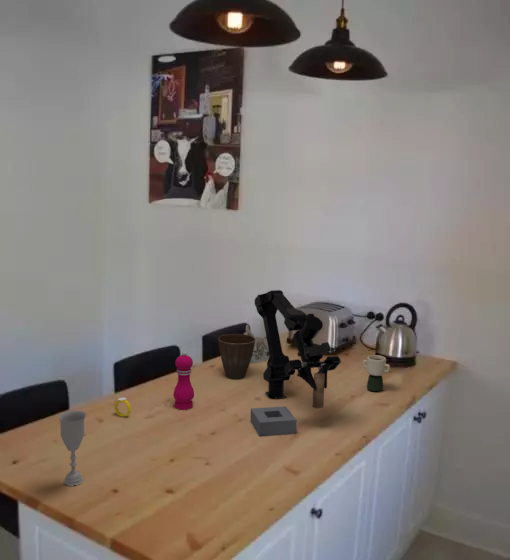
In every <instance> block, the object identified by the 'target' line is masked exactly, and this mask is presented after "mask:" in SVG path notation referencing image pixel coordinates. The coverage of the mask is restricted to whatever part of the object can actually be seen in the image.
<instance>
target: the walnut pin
mask: <svg viewBox="0 0 510 560" xmlns="http://www.w3.org/2000/svg"><path fill="white" fill-rule="evenodd" d="M313 379H314V381H315V384H316V388H317V389H316V390H314V389H313V388H312V404H311V405H312V408H314V409H317V410H321V409H323V408H324V401H325V398H324V397H325V388H324V381H325V374H324V373H317V372H314V373H313Z"/></svg>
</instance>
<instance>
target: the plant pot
mask: <svg viewBox="0 0 510 560" xmlns="http://www.w3.org/2000/svg"><path fill="white" fill-rule="evenodd" d="M254 337H255V336H254ZM254 337H252V336H249V335H244V333H243V334H241V333H229V334H222V335H220V336H219V337H217V338H218V340H217V341H218V348H219V355H220V359H221V363H222V367H223V370H224V374H225V376H226V378H228V379H230V380H242V379H244V378H245V376H246V375H247V372H248V370H249V367H250V364H251V363H250V361H251V358H252V354H253V350H254V345H255V338H254Z"/></svg>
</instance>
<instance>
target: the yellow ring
mask: <svg viewBox="0 0 510 560" xmlns="http://www.w3.org/2000/svg"><path fill="white" fill-rule="evenodd" d="M119 403H124V404H125V405H126V407H127V413H121V412H120V410H119V406H118V405H119ZM114 410H115V413H116V414H117V416H120V417H123V418H124V417H125V418H127V417H128V416H129V415H130V414H131V411H132V407H131V404H130V402H129V401H128V400H127V397H119V398H118V399H117V400H116V401H115V403H114Z"/></svg>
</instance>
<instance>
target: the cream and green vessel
mask: <svg viewBox="0 0 510 560" xmlns="http://www.w3.org/2000/svg"><path fill="white" fill-rule="evenodd" d="M362 367H363V368H364V369H366V373H367V374H368V378H367V383H366V389H368V390H369V391H372V392H376V391H377V392H379V391H383V390H384V381H383V380H384V379H383V376H384V375H385V374H387V373H388V374H389V373H390V371H391V365H390V364H388V363H387V358H386V357H385V356H383V355H375V354H373V355H368V356H367V359H363V364H362ZM386 367H387V368H386Z"/></svg>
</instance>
